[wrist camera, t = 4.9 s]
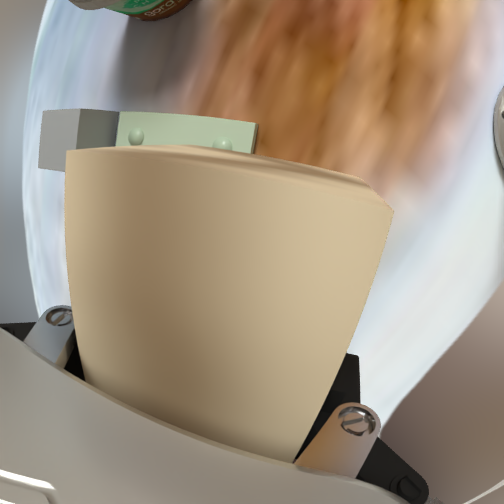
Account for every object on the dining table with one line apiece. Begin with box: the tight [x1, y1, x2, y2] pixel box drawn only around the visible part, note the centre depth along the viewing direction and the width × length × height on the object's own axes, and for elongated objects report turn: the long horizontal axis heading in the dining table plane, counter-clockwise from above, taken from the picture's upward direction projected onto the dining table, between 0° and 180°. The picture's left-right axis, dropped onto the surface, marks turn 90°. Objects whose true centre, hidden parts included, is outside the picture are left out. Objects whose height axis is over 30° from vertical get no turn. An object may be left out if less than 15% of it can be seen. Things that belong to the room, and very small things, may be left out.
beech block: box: [65, 145, 394, 464], centre depth 9 cm, size 6×12×6 cm, turn 170°
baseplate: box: [116, 111, 258, 154], centre depth 28 cm, size 14×14×1 cm
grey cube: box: [38, 109, 119, 172], centre depth 27 cm, size 6×6×6 cm
